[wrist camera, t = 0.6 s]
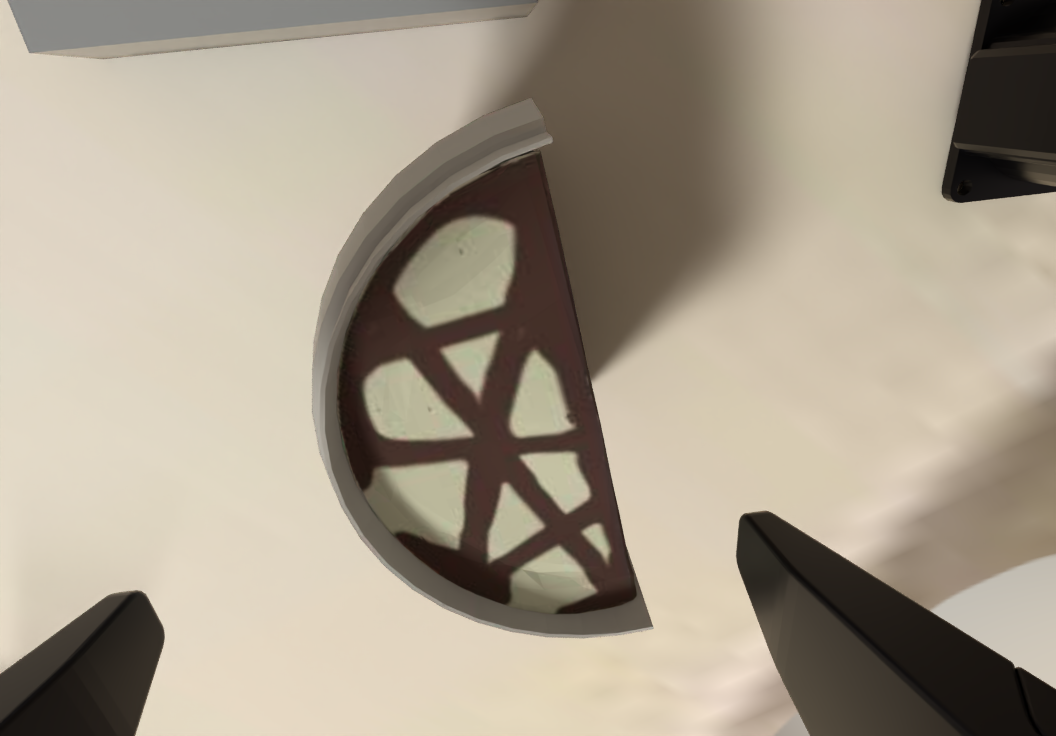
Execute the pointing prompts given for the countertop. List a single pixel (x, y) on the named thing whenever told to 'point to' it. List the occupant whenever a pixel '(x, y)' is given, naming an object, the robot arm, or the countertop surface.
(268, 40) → the tray
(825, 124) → the countertop surface
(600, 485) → the food container
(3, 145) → the countertop surface
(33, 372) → the countertop surface
